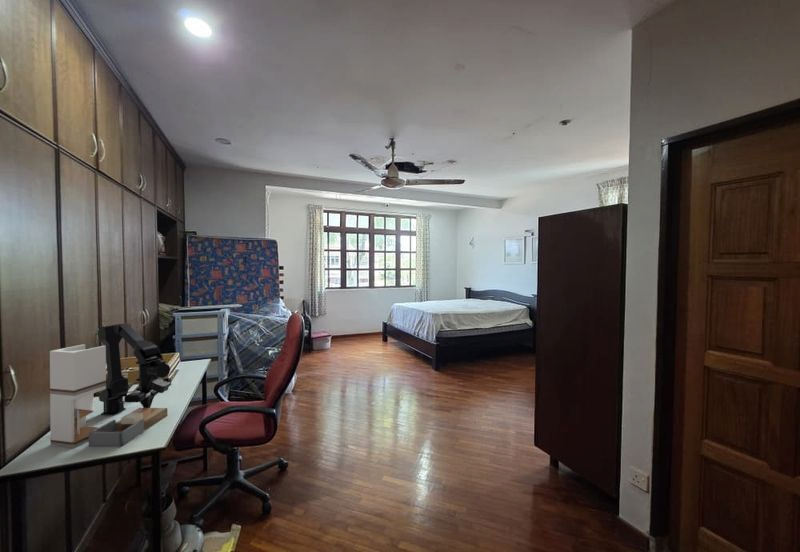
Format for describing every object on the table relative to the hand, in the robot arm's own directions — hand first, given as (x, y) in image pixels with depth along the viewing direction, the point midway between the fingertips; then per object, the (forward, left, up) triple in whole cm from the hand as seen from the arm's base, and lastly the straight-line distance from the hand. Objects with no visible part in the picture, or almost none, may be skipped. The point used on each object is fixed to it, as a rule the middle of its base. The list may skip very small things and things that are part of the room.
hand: (147, 410), depth 147 cm
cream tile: (0, -9, -1) cm, 9 cm away
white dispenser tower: (-14, -16, -5) cm, 22 cm away
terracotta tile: (0, -4, -1) cm, 4 cm away
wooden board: (0, -3, -4) cm, 5 cm away
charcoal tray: (0, -16, -4) cm, 17 cm away
